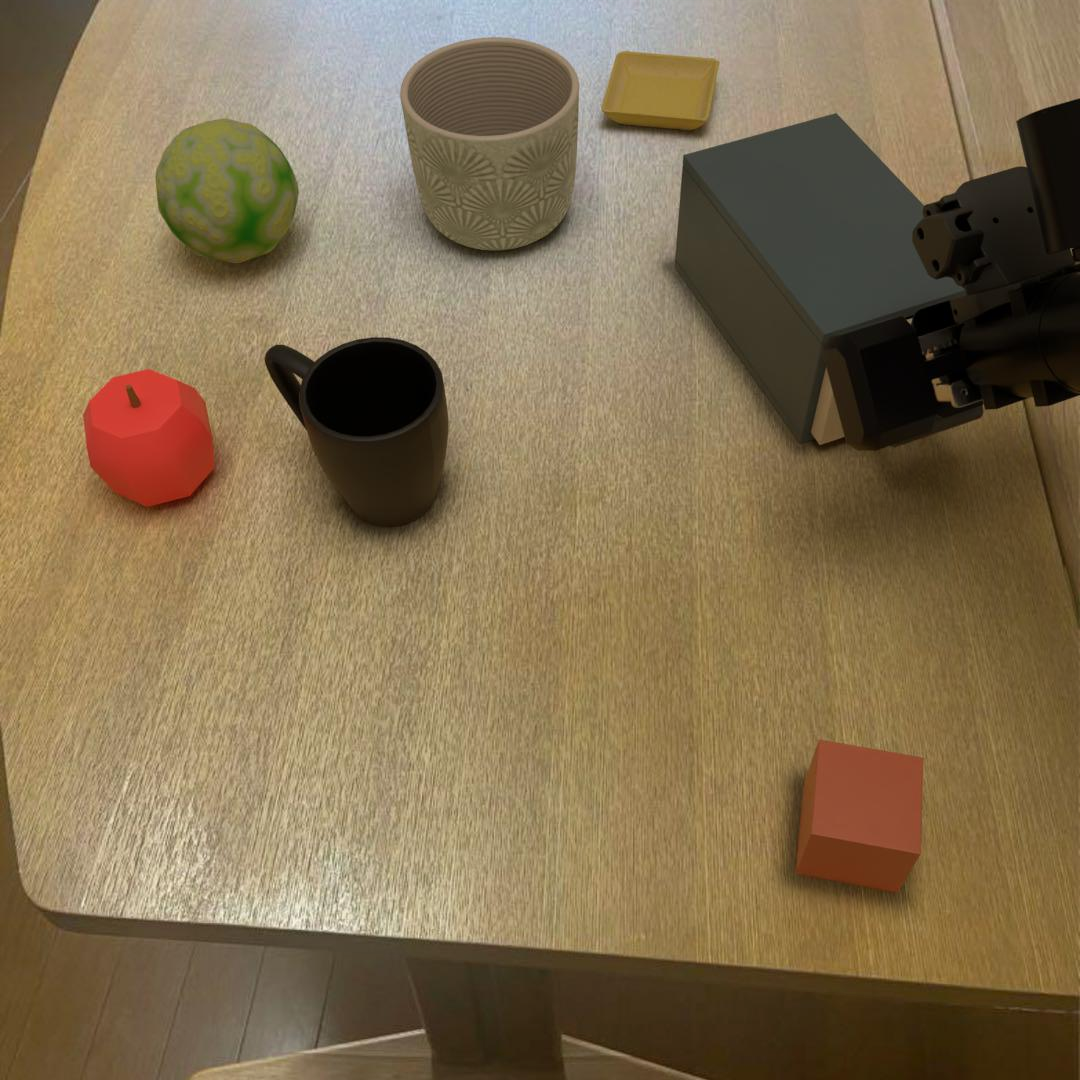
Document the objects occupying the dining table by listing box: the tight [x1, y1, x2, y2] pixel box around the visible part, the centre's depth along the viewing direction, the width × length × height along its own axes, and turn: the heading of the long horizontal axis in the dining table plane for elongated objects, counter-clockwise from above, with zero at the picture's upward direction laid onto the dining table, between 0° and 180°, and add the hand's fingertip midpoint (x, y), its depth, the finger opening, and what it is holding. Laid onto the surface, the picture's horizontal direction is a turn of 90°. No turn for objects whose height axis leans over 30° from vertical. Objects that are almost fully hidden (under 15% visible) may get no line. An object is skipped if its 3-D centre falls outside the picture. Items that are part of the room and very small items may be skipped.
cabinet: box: [674, 112, 966, 445], centre depth 79 cm, size 19×12×10 cm, turn 22°
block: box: [795, 739, 924, 894], centre depth 58 cm, size 5×5×5 cm
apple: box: [82, 368, 216, 508], centre depth 73 cm, size 8×8×8 cm
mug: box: [264, 336, 450, 528], centre depth 72 cm, size 8×12×10 cm
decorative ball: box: [155, 117, 300, 264], centre depth 85 cm, size 10×10×10 cm
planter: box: [399, 36, 580, 251], centre depth 86 cm, size 12×12×11 cm
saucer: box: [600, 50, 721, 131], centre depth 98 cm, size 9×9×2 cm
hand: (913, 357), depth 71 cm, fingers closed, pressing on drawer
